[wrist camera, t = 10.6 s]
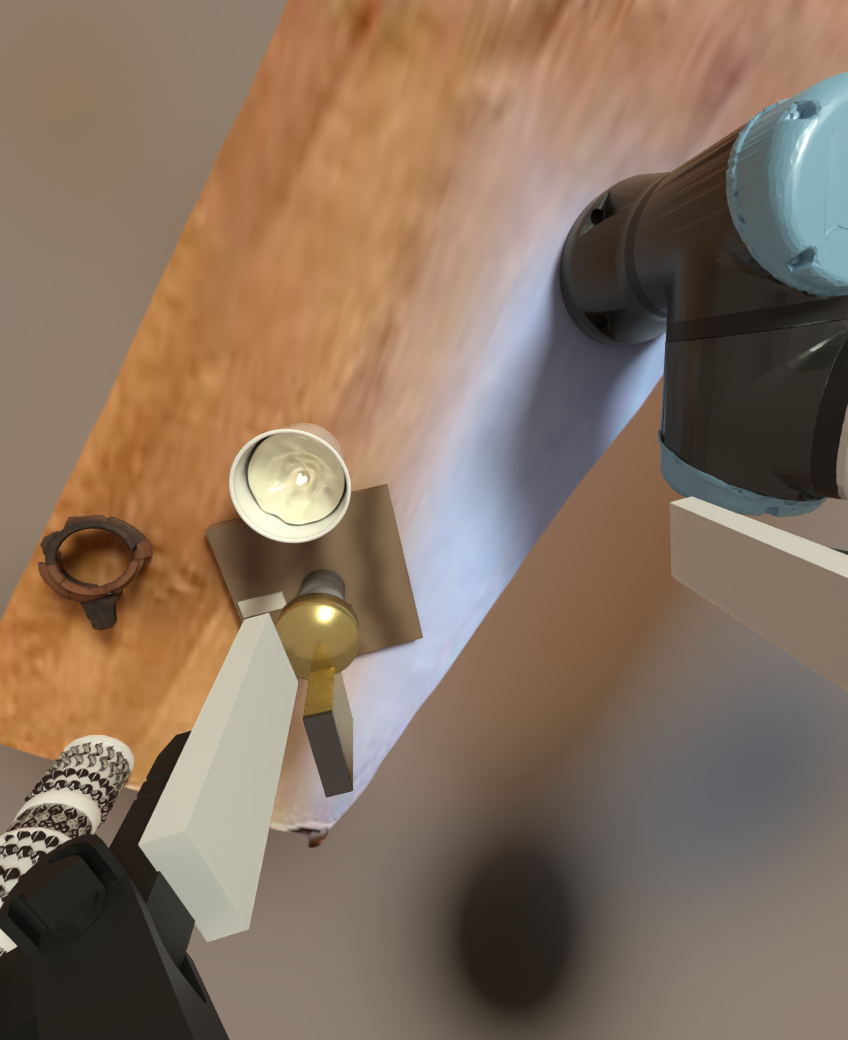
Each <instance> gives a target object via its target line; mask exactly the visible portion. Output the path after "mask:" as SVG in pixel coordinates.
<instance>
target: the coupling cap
mask: <svg viewBox="0 0 848 1040" xmlns="http://www.w3.org/2000/svg"><path fill="white" fill-rule="evenodd" d="M275 629H276V631H277V633H278V636H279V638H280V640H281V643H282V645H283V647H284V650H285V652H286V655H287V657H288V659H289V662H290V664H291V666H292V669H293V671H294V674H295V676H296V677H299V678H303V679H309V681H308V688H307V695H306V702H305V709H304V716H303V722H304V725H305V729H306V732H307V735H308V739H309V742H310V745H311V749H312V752H313V755H314V759H315V762H316V765H317V769H318V772H319V775H320V779H321V782H322V785H323V789H324V792H325V795H326V797H330V796H334V795H338V794H343V793H347V792H351V791H353V718H352V714H351V710H350V706H349V702H348V698H347V694H346V690H345V686H344V682H343V678H342V673H341V671H343V670H344V669H346V668H347V667H348V666H349V665H350V664H351V663H352V661H353V660H354V658H355V656H356V654H357V651H358V647H359V624H358V619H357V616H356V614H355V612H354V610H353V609H352V607H351V606H350V605H349V604H348V603H347V602H345V601H344V600H343V599H341V598H339V597H337V596H335V595H332V594H328V593H320V592H319V593H308V594H304V595H301V596H298V597H296V598H294V599H293V600H291V601H290V602H288V603H287V604H286V605H285V606H284V607H283V608H282V610H281V611H280V613H279V615H278V617H277V620H276V623H275Z"/></svg>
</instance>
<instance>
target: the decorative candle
mask: <svg viewBox="0 0 848 1040" xmlns="http://www.w3.org/2000/svg"><path fill="white" fill-rule="evenodd" d="M60 755H61V756H60V759H55V761H54V763H53V764H52V767H53V768H52V769H51V770H47V771H46V772H45V774H46V776H44V777H43V778H42V779H41V782H39V783H38V784H36V786H35V788H34V790H33V791H32V792H31V794H30V795H28V796H27V797H26V798H25V801H24V802H25V805H24V806H23V808H21V810H20V811H19V812H18V814H17V816H16V818H15V819H14V821H13V823H12V825H11V826H10V827H9V828H8V830H7V832H6V833H4V834H3V835H1V836H0V908H1V906H2V904H3V903H4V901H5V899H6V898H7V896H8V894H9V892H10V891H11V889H12V888H13V887H14V886H15V885H16V883H17V882H18V881H19V880H20V879H21V878H22V876H23V875H24V874H25V873H26V872H27V871H28V870H29V869H30V868H31V867H32V866H33V865H34V864H36V863H37V862H38V861H39V860H40V859H41V858H42V857H44V856H45V855H46V854H47V853H48V852H50V851H52V850H53V849H55V848H56V847H58V846H59V845H61V844H63V843H64V842H66V841H68V840H70V839H73V838H76V837H78V836H81V835H84V834H94V832H95V831H96V829H98V828H99V827H100V825H101V824H103V823H104V821H105V820H106V815H107V814H108V813H109V811H110V810H111V809H112V807H113V804H112V803H114V801H115V800H116V798H117V797H118V796H119V795H120V793H121V791H122V788H123V786H124V785H125V784H126V782H127V780H128V777H129V775H130V773H131V771H132V770H133V768H134V766H135V756H134V754H133V753H132V751H131V749H130V748H129V746H127V745H126V744H124V743H123V742H122V741H120V740H119V739H116V738H113V737H109V736H106V735H87V736H84V737H80V738H77V739H75V740H74V741H72V742H71V743H69V744H68V745H67V746H66V747H65V749H64V750H63V752H62V753H61V754H60ZM16 947H17V945H16V944H15V943H14V942H13V941H12V940H11V939H10V938H9V937H8V936H7V935H6V934H5V933H4V932H3V931H2V930H1V929H0V957H1V956H2V955H4V954H6V953H7V952H9V951H11V950H12V949H14V948H16Z"/></svg>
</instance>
